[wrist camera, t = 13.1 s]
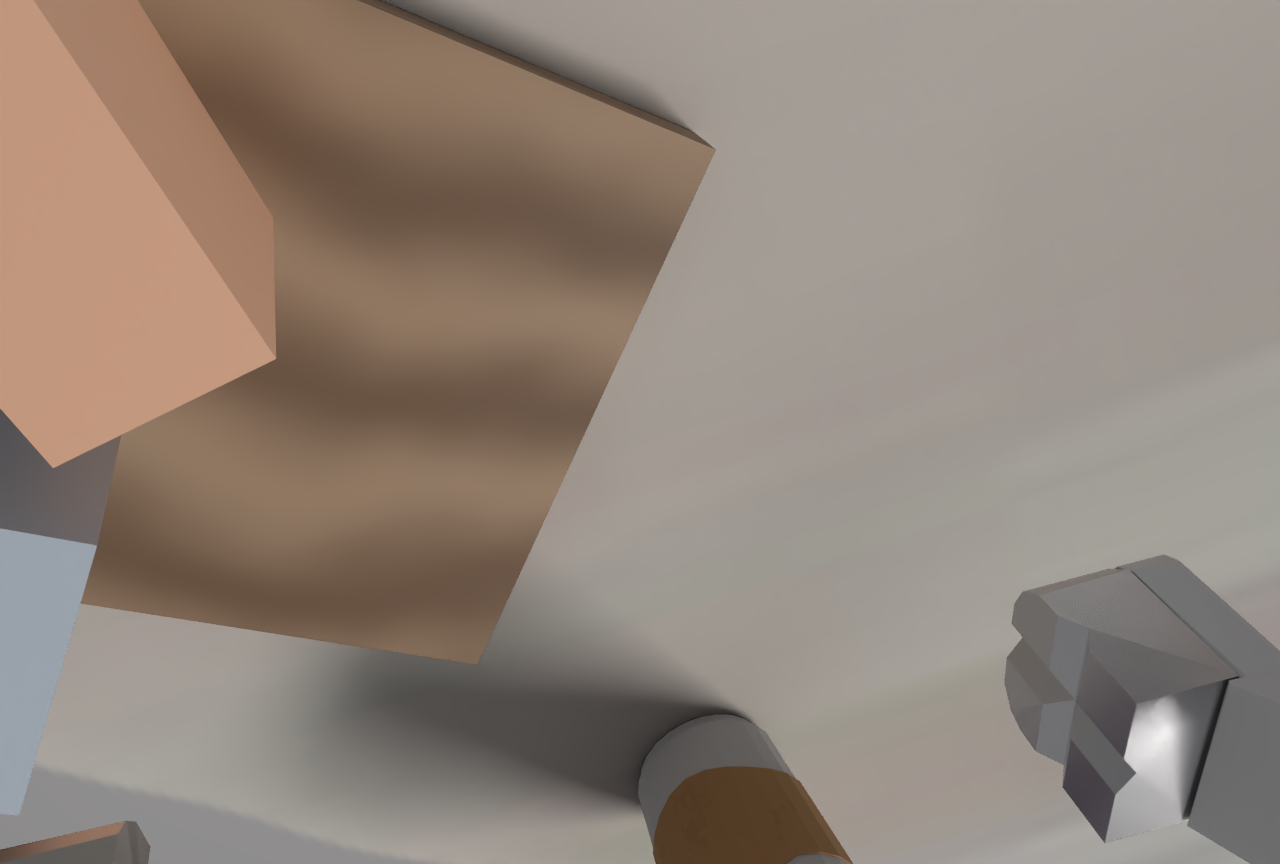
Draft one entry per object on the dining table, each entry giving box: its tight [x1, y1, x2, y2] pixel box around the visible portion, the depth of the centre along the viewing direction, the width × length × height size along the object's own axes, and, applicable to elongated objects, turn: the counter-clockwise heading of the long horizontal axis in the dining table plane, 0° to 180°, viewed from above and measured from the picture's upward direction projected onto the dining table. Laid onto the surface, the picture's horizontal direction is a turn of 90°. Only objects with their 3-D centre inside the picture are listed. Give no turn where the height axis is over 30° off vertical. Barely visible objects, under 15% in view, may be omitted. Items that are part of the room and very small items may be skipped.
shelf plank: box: [81, 0, 716, 665], centre depth 31 cm, size 20×24×4 cm
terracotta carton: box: [0, 0, 276, 468], centre depth 24 cm, size 5×8×9 cm, turn 21°
